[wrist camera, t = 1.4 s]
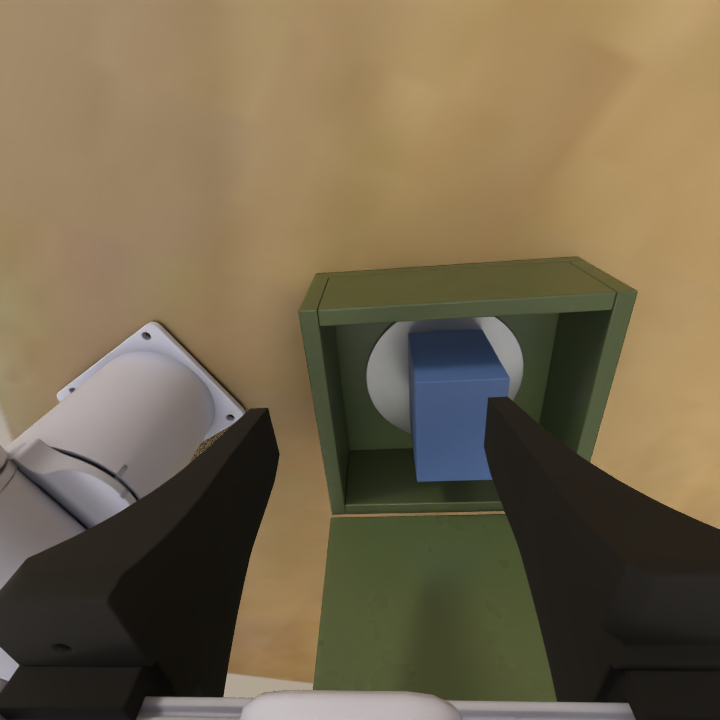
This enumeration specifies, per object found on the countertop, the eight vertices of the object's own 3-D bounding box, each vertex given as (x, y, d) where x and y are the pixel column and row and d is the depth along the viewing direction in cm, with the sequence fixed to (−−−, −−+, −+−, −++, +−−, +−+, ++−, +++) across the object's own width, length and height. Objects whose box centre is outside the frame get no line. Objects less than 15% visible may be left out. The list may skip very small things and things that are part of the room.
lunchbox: (315, 273, 21) (298, 310, 16) (578, 256, 20) (638, 290, 15) (339, 451, 27) (332, 515, 22) (541, 444, 26) (577, 510, 21)
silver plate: (415, 455, 26) (415, 458, 26) (335, 356, 22) (335, 358, 22) (546, 394, 23) (548, 397, 23) (479, 270, 20) (480, 271, 19)
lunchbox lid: (285, 949, 11) (289, 948, 11) (814, 981, 10) (800, 980, 10) (330, 516, 22) (332, 523, 22) (581, 512, 21) (578, 518, 21)
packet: (407, 333, 21) (415, 382, 17) (482, 329, 21) (510, 378, 17) (409, 420, 24) (416, 482, 20) (475, 418, 24) (497, 480, 19)
